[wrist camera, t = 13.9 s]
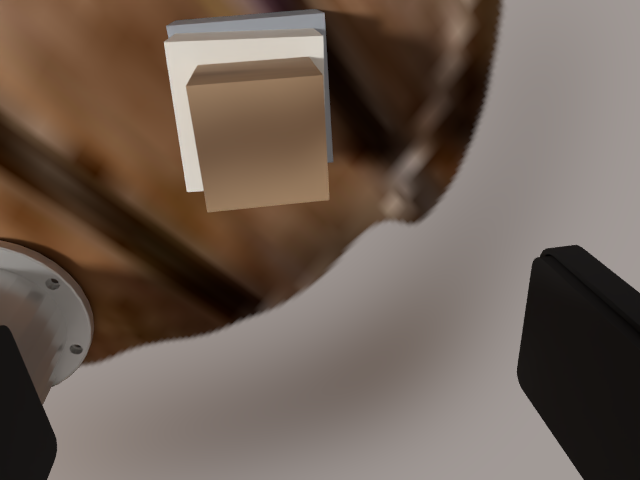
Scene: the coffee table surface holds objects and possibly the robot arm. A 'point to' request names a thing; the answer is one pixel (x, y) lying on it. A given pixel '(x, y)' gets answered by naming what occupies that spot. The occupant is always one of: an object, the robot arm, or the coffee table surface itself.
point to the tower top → (227, 48)
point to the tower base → (266, 22)
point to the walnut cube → (260, 132)
